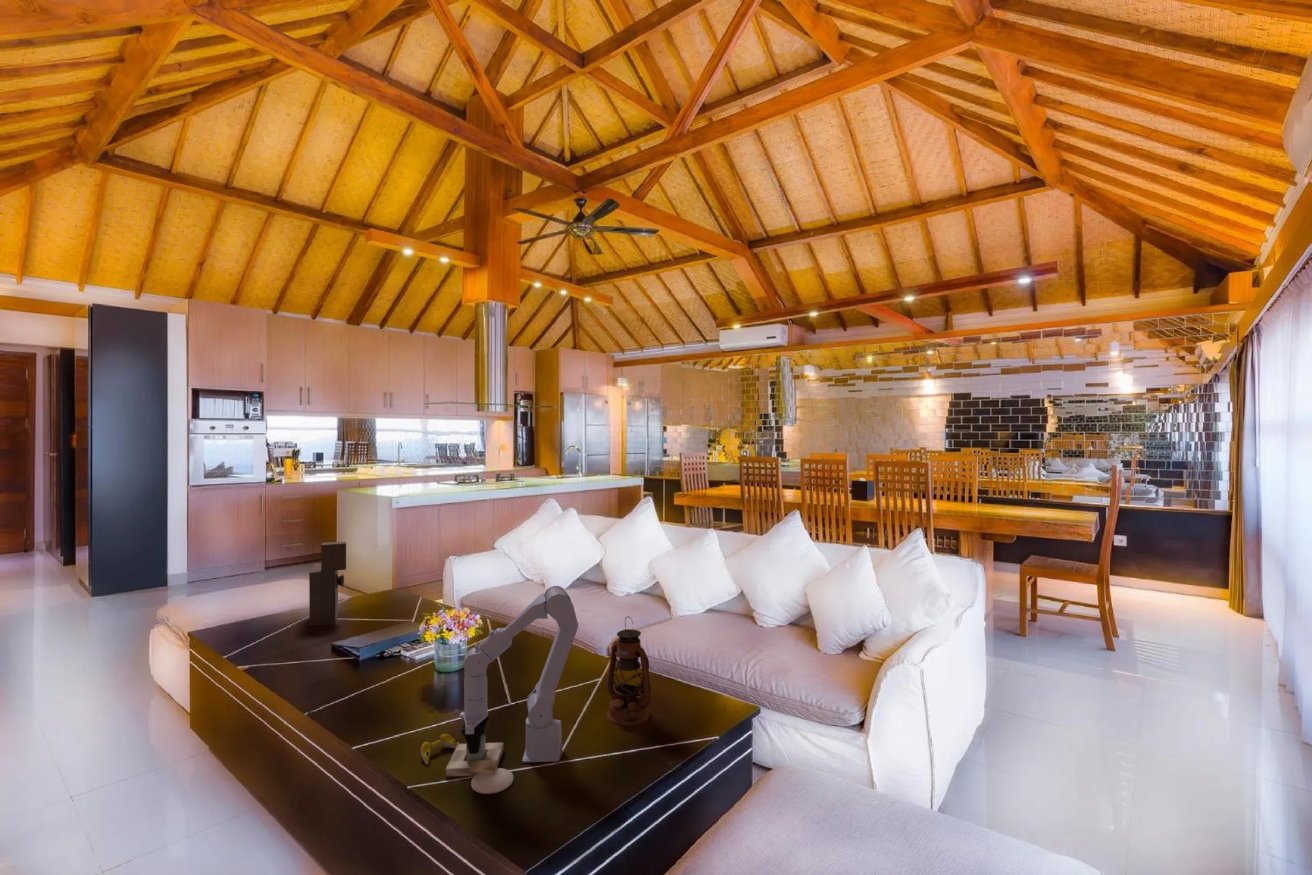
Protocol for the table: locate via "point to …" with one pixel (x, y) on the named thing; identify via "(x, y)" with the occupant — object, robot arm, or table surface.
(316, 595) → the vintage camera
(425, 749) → the game controller
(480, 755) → the block
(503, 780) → the coaster
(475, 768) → the board
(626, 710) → the lantern
